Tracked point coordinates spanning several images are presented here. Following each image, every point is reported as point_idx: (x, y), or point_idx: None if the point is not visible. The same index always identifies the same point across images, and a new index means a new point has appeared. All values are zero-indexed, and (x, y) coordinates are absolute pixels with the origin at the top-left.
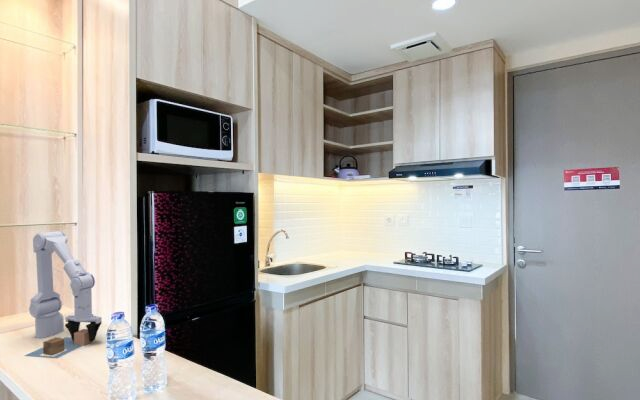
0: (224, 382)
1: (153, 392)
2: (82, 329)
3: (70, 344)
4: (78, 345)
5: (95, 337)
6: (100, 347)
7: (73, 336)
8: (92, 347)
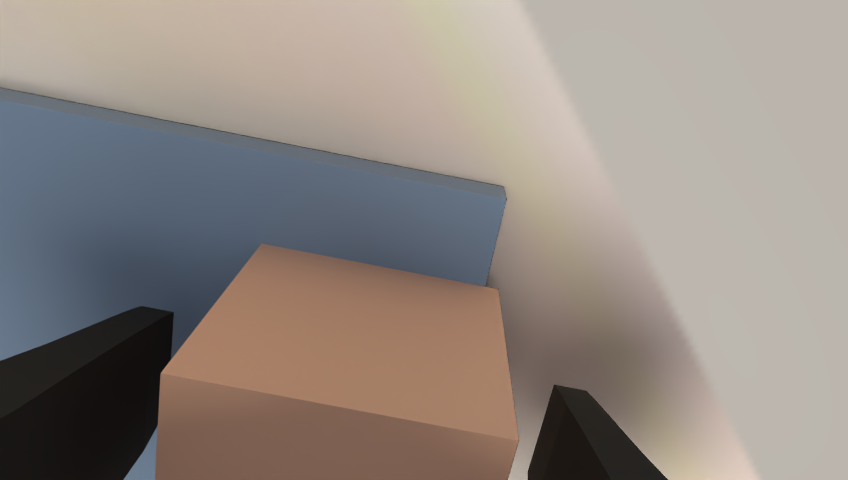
0: None
1: None
2: (172, 413)
3: None
4: None
5: (608, 420)
6: (739, 470)
7: (120, 472)
8: None
